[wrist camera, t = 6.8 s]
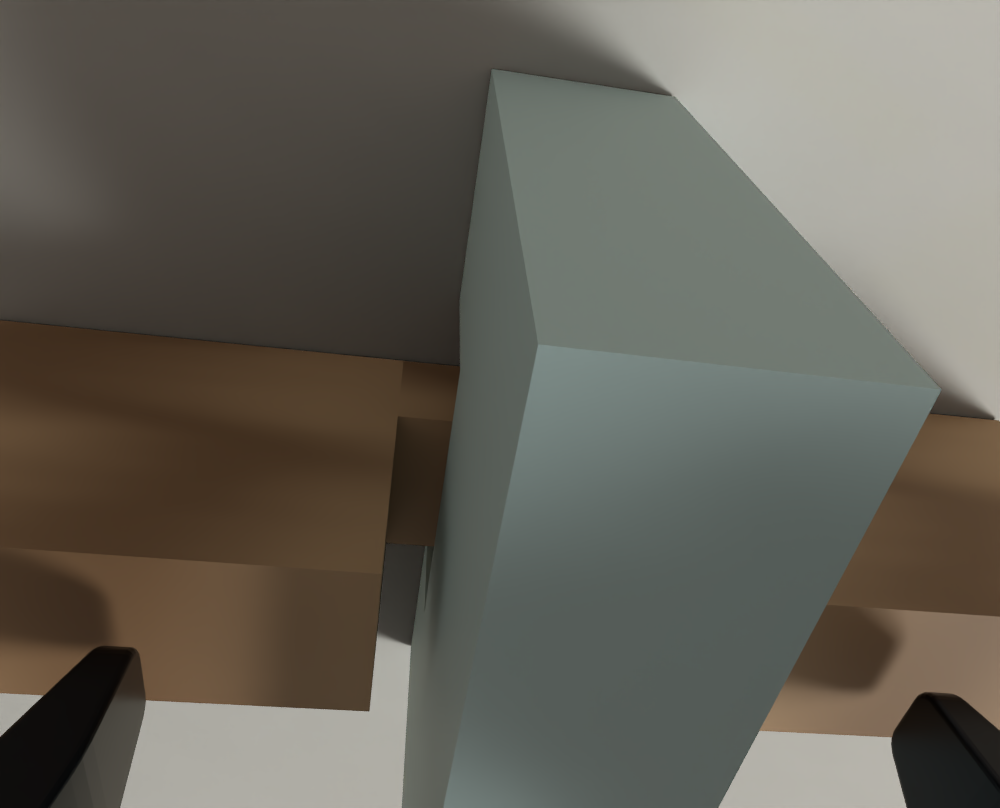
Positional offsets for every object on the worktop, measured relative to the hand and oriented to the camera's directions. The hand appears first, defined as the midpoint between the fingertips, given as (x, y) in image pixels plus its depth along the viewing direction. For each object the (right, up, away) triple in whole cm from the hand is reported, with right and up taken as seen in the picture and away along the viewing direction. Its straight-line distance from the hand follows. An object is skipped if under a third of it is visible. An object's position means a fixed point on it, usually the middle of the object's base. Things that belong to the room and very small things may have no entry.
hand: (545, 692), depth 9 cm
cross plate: (0, +3, +4) cm, 5 cm away
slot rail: (0, +3, +4) cm, 5 cm away
